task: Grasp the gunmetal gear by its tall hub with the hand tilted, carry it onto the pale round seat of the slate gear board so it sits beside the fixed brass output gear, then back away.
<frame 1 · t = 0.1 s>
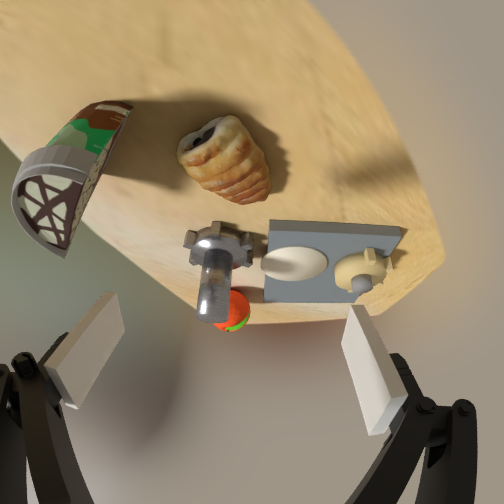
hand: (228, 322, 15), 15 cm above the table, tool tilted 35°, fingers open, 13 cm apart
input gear: (220, 243, 36), on the table
clementine: (233, 289, 48), on the table
gear board: (321, 266, 40), on the table
pastry: (229, 151, 24), on the table
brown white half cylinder: (89, 129, 21), on the table
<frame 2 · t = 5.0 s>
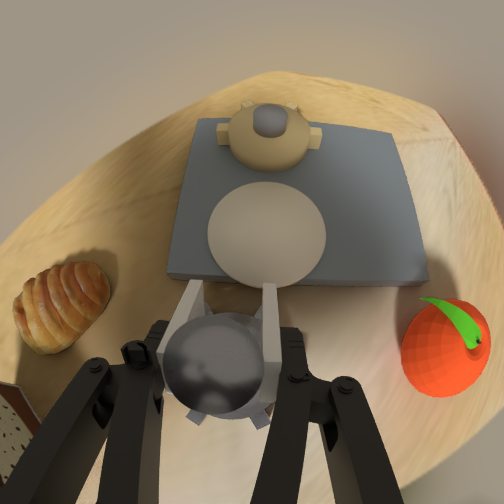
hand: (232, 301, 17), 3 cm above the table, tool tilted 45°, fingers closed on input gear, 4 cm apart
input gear: (232, 366, 18), on the table, touching gripper
clementine: (416, 349, 19), on the table
gear board: (302, 194, 24), on the table
pastry: (65, 309, 20), on the table
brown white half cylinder: (33, 442, 15), on the table
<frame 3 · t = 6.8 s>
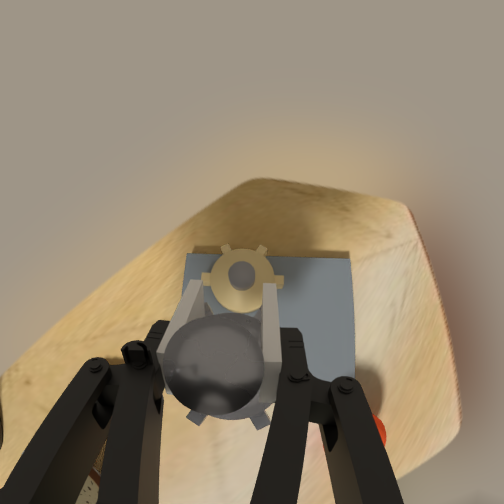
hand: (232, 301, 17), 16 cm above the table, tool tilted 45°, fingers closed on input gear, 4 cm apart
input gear: (232, 366, 18), point 13 cm above the table, touching gripper
gear board: (267, 325, 32), on the table
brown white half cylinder: (87, 479, 23), on the table
when the fingers open (6 cm above the table, at t = 8.9 s): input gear stays where it is, resting on gear board.
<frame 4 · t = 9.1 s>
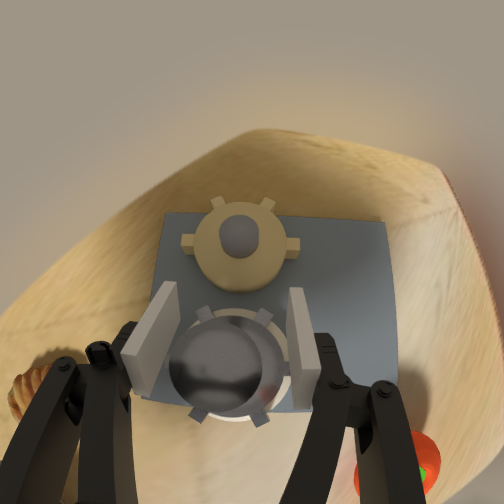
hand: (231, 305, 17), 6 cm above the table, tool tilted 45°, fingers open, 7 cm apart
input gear: (232, 366, 19), point 2 cm above the table, touching gear board
clementine: (376, 456, 17), on the table
gear board: (275, 311, 23), on the table
pastry: (52, 398, 19), on the table
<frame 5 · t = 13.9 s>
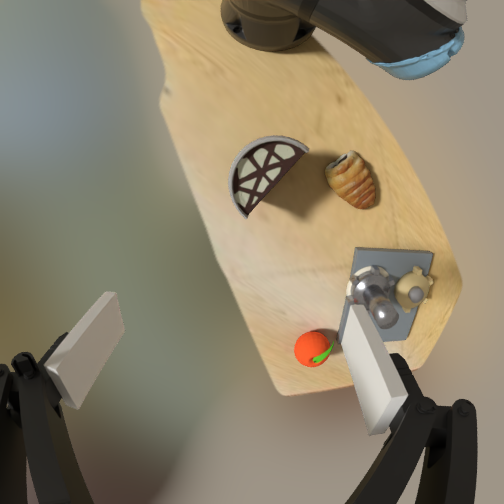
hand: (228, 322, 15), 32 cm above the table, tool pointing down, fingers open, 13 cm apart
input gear: (368, 288, 47), point 2 cm above the table, touching gear board
clementine: (312, 336, 54), on the table
gear board: (383, 297, 50), on the table
pastry: (349, 177, 43), on the table
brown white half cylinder: (259, 162, 42), on the table
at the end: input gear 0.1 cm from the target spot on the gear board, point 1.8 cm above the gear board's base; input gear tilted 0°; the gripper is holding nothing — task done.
